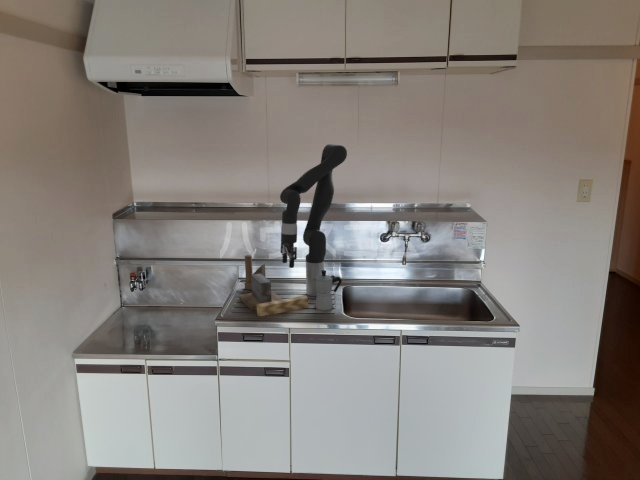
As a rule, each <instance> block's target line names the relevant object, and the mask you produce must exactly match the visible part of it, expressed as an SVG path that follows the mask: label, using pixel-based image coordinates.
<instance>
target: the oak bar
mask: <svg viewBox="0 0 640 480" xmlns="http://www.w3.org/2000/svg"><path fill="white" fill-rule="evenodd" d="M306 308H309V298H308V297H307V296H306V295H301V296H296V297H291V298H284V299H282V300H278V301H272V302H267V303H261V304H257V310H256V314H257V316H258V317H259V316H261V317H266V316H270V315H277V314H280V313H286V312H287V313H288V312H291V311H292V312H293V311H298V310H302V309H306ZM265 315H266V316H265Z"/></svg>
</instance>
